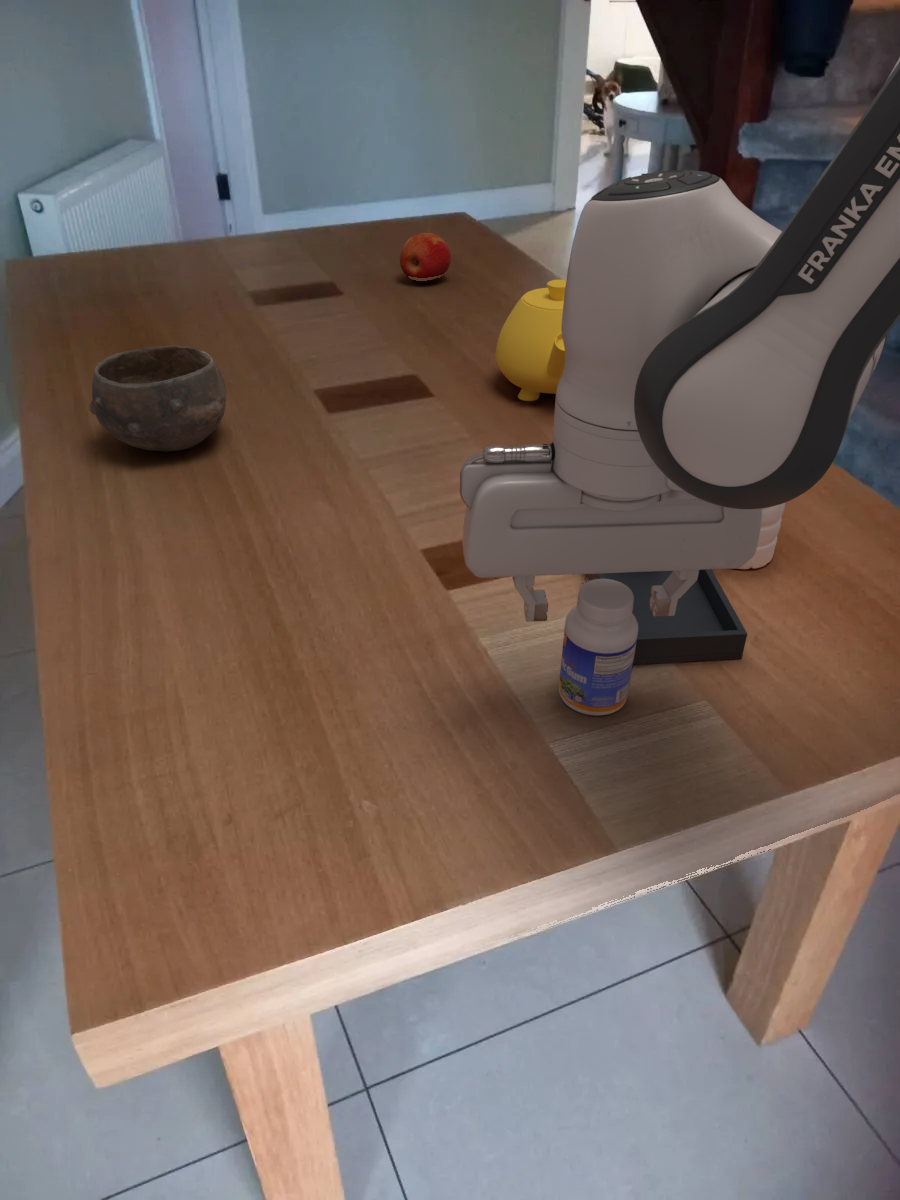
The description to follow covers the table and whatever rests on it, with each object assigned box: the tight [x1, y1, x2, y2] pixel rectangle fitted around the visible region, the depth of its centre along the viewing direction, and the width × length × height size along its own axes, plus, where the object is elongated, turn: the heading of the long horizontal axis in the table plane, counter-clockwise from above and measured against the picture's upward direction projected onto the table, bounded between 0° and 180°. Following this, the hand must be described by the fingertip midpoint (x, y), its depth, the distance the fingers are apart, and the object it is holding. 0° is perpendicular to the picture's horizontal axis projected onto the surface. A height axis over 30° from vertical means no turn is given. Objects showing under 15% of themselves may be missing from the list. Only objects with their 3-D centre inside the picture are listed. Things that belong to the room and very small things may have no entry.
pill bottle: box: [558, 579, 638, 716], centre depth 69 cm, size 5×5×10 cm
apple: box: [399, 232, 452, 284], centre depth 158 cm, size 8×8×8 cm
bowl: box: [88, 345, 227, 452], centre depth 105 cm, size 14×15×10 cm
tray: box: [587, 569, 748, 665], centre depth 85 cm, size 27×10×3 cm, turn 4°
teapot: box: [494, 279, 567, 402], centre depth 116 cm, size 20×16×14 cm
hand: (598, 614), depth 68 cm, fingers open, 8 cm apart
